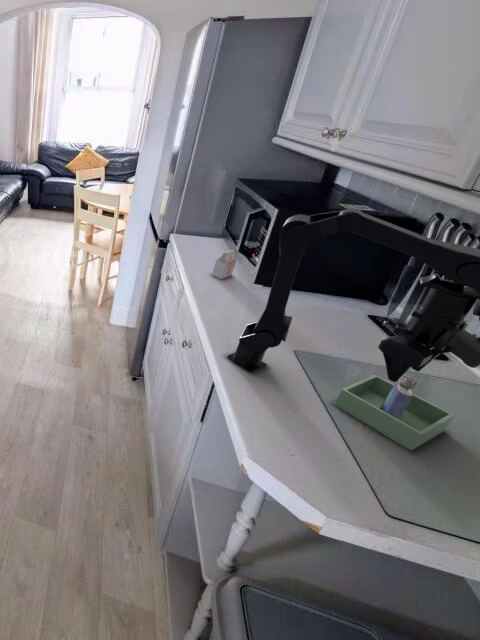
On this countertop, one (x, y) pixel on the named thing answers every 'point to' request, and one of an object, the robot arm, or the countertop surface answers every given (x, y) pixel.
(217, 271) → the milk carton
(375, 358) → the countertop surface
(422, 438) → the bin
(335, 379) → the countertop surface
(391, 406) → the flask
